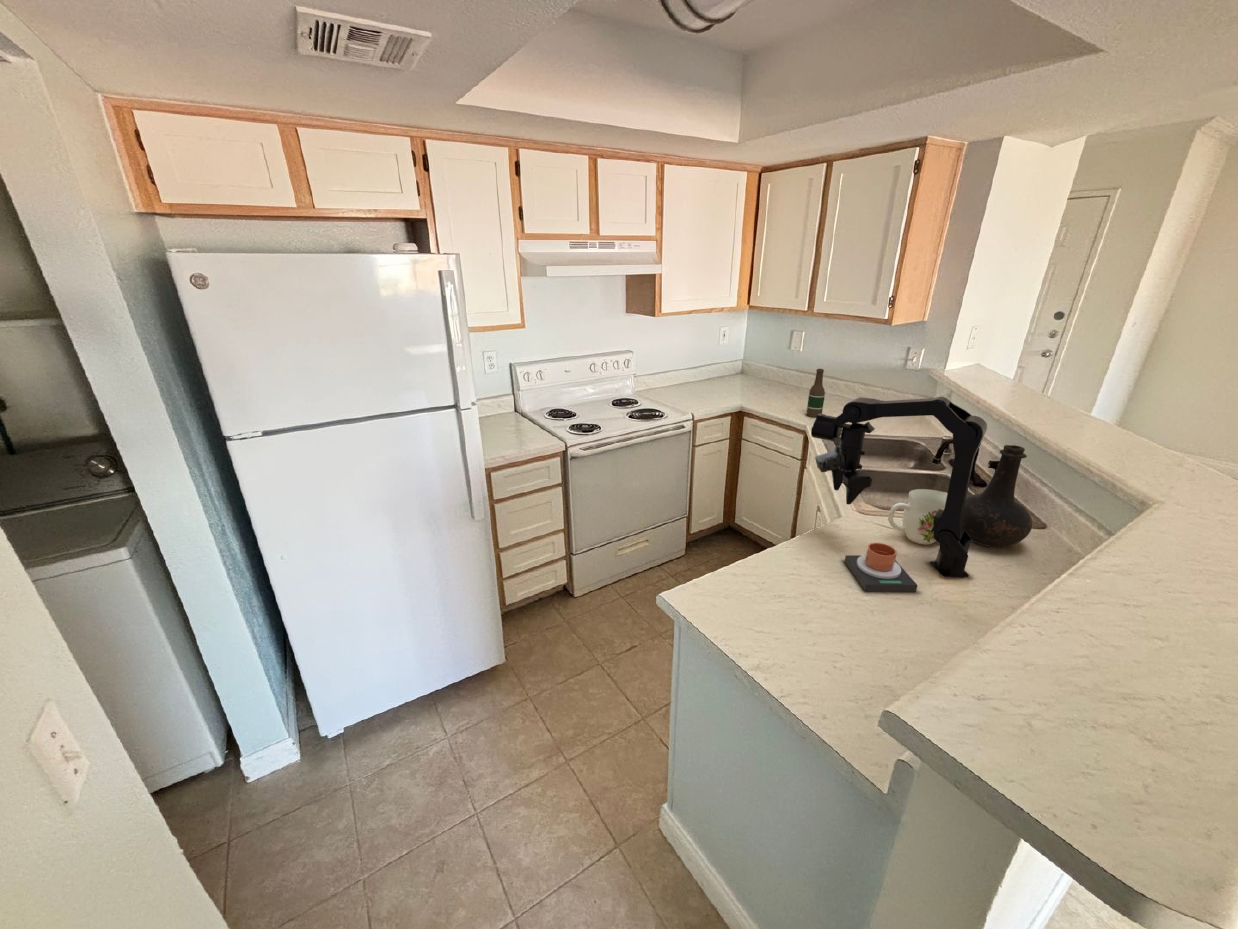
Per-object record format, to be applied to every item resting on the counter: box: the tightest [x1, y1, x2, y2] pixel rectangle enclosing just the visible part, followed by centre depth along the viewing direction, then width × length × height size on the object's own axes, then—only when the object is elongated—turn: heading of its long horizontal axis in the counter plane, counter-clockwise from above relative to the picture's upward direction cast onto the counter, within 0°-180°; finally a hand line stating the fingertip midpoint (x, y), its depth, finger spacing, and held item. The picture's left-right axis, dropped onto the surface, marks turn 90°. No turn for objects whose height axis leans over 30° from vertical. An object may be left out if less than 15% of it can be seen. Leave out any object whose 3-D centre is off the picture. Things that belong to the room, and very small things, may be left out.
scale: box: [844, 554, 918, 593], centre depth 126 cm, size 13×12×3 cm
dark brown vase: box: [964, 444, 1033, 548], centre depth 137 cm, size 18×18×28 cm
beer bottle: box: [806, 368, 826, 418], centre depth 254 cm, size 8×8×24 cm
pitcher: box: [887, 488, 948, 545], centre depth 140 cm, size 11×18×14 cm, turn 86°
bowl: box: [865, 542, 898, 571], centre depth 125 cm, size 6×6×4 cm
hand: (842, 497), depth 141 cm, fingers open, 9 cm apart
